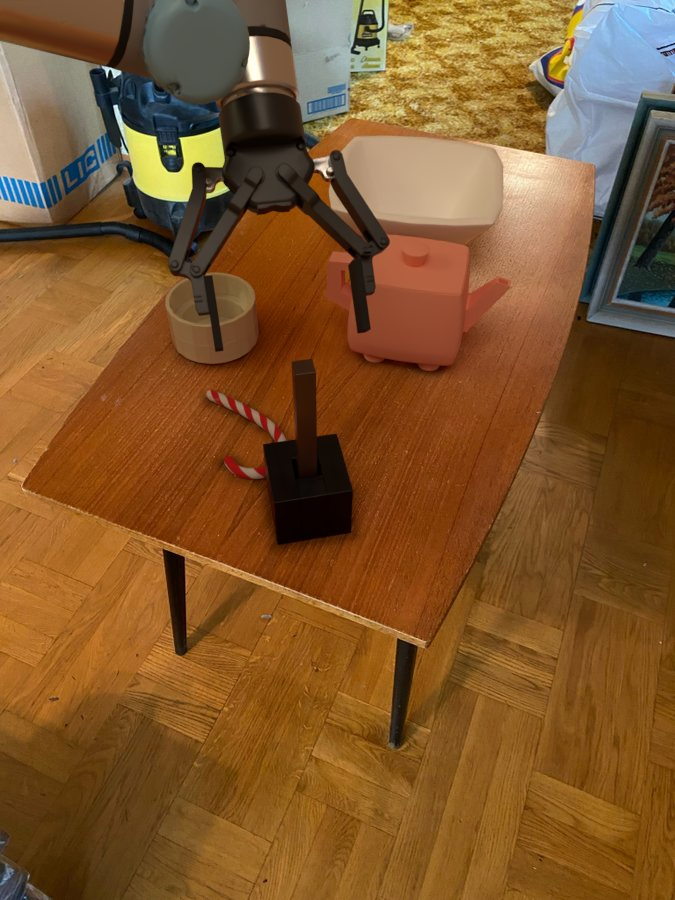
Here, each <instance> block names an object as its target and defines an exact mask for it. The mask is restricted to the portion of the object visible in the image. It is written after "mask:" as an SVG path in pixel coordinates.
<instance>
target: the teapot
mask: <svg viewBox="0 0 675 900" xmlns="http://www.w3.org/2000/svg"><path fill="white" fill-rule="evenodd" d="M386 235H387V236H388V238H389V240H390V244H389V246H388V247H387V248H386V249H385V250H384V251H383V252H382V253H380V254H377V255H375V256H374V257H373V259H372V263H373V271H374V278H375V285H376V288H375V292H374V293H373V294H372V295H368V296H366V298H367V305H368V312H369V320H370V327H371V329H370V330H369V331H367V332H365V333H357V326H356V319H355V311H354V304H353V297H352V290H351V284H350V283H348V282H346V272H349V268H348V265H349V264H350V263H351V261H352V260H353V259H354V258H353V257H352V256H351V255H350V254H349V253H348V252H347V251H334V250H333V251H332V253H331V255H330V257H329V259H328V266H327V277H326V290H325V298H326V299H328V300H329V301H331V302H332V303H334V304H336V305H338V306H340V307H341V308H343V309H345V310H346V311H348V318H347V343H348V346H349V349H350V350H351V351H353V352H356V353H358V354H362V355H363V357H364V359H365V360H366V361H368V362H370V363H381V362H383V361H384V360H385V359H386V360H391V361H397V362H404V363H411V364H412V363H413V364H417V365H418V367H419V368H420V369H421V370H423V371H426V372H428V371H429V372H433V371H436V370H438V369H439V368H440V366H452V365H453V364H454V362H455V360H456V358H457V356H458V353H459V351H460V346H461V343H462V338H463V335H464V333H467V332H469V330H470V329H471V328H472V327H473V326H474V325H475V324H476V323H477V322H478V321H479V320H480V319H481V318H482V317H483V316H484V315H485V314H486V313H487V312H488V311H489V310H490V309H491V308H492V307H493V306H494V305H495V304H496V303H498V301H499V300H500V299H501V298H502V297H503V296H504V295H505V294H506V293H507V292H509V290H510V289H511V283H512V280H511V279H508V278H505V277H503V276H498V275H496V276H495V278H493V279H491V280H490V281H487V283H485V284H483V285H481V286H480V287H478V288H477V289H475V290H473V291H472V292H469V289H470V274H471V273H470V270H471V267H470V266H471V265H470V264H471V260H470V259H471V258H470V256H471V255H470V247H469V246H467V245H466V244H465V245H461V244H456V243H451V242H445V241H439V240H432V239H425V238H418V237H409V236H399V235H389V234H386Z"/></svg>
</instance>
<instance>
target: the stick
mask: <svg viewBox="0 0 675 900" xmlns="http://www.w3.org/2000/svg"><path fill="white" fill-rule="evenodd" d="M291 379H292V381H291V382H292V398H293V399H292V401H293V403H292V404H293V421H294V422H293V423H294V440H295V446H296V467H297V479H299V478H306V477H312V476H317V436H318V426H317V425H318V422H317V421H318V417H317V415H318V414H317V410H318V409H317V371H316V367H315V364H314V360H313V358H306V359H305V358H304V359H299V360H292V361H291Z"/></svg>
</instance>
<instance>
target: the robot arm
mask: <svg viewBox="0 0 675 900" xmlns="http://www.w3.org/2000/svg"><path fill="white" fill-rule="evenodd" d="M0 42H1V43H7V44H10V45H15V46H19V47H22V48H27V49H32V50H36V51H40V52H43V53H48V54H51V55H56V56H60V57H65V58H69V59H73V60H76V61H80V62H84V63H88V64H92V65H98V66H101V67H104V68H105V67H106V68H110V69H113V70H116V71H119V72H124V73H127V74H131V75H135V76H139V77H143V78H148V79H151V80H152V81H153V83H154V84H155V85H156V86H157V87H158V88H159V89H161V90H162V91H164V92H166V93H167V94H169V95H171V96H173V97H174V98H175V99H177V100H178V101H181V102H183V103H185V104H191V105H198V106H199V105H207V104H213V103H214V102H215V103H216V107H217V108H218V109H219V110H220V111H219V113H218V117H217V118H218V123H219V130H220V138H221V144H222V151H223V158H224V161H223V165H222V166H220V167H219V166H205V164H204V163H202V162H201V161H196V162H194V163H193V164H192V165H191V187H192V188H191V191H190V194H189V197H188V200H187V203H186V206H185V209H184V213H183V215H182V219H181V222H180V224H179V228H178V231H177V234H176V237H175V239H174V243H173V245H172V249H171V251H170V255H169V258H168V261H167V266H168V267H167V268H168V270H169V272H170V274H171V275H172V276H173V277H180V278H184V279H186V278H187V279H189V280H190V281H191V283H192V289H193V295H194V302H195V308H196V311H197V313H198V315H199V316H202V315H210V320H211V327H212V333H213V340H214V346H215V352H218V351H223V343H222V336H221V330H220V323H219V316H218V310H217V303H216V297H215V290H214V283H213V277H212V275H210V276H205V275H206V273H208V271H209V270H210V269H211V267H212V265H213V264H214V262H215V261H216V259H217V258H218V256H219V254H220V252H221V251H222V250H223V248H224V246H225V244H226V243H227V241H228V240H229V238H230V237H231V236H232V233H233V232H234V230H235V229H236V227H237V226H238V224H240V222H241V220H242V219H243V218H244V216H245V215H246V213H247V211H249V212H251V213H252V214H253V213H254V214H256V216H261V215H262V216H263V215H266V214H270V213H272V212H274V213H275V212H277V213H290V212H291V210H293V209H295V208H296V207H297V208H298V209H299V211H301V213H303V214H304V215H305V216H308V217H309V218H310V219H311V220H313V221H314V222H315V223H316V224H317V225H318V226H319V227H320V228H321V229H322V230H323V231H324V232H325V233H326V234H328V236H329V237H331V239H333V240H334V241H335V242H336V243H337V244H338V245H339V246H340V247H341V248H342V249H343V250H344V251H345V252H347V253H349V254H350V255H351V256H352V257H353V258H354V259H353V260H352V261H351V263H350V264H349V265H348V268H349V271H348V274H349V284H350V285H351V290H352V297H353V304H354V311H355V319H356V326H357V333H365V332H367V331H369V330H370V329H371V327H370V320H369V312H368V305H367V298H366V296H368V295H372V294H373V293H374V292H375V288H376V285H375V278H374V271H373V263H372V259H373V257H374V256H375V255H377V254H380V253H382V252H383V251H384V250H385V249H386V248H387V247H388V246H389V244H390V240H389V238H388V236H387V235H386V233H385V231H384V230H383V228H382V227H381V225H380V224H379V222H378V221H377V219H376V217H375V216H374V214H373V213H372V211H371V210H370V208H369V207H368V205H367V204H366V202H365V200H364V199H363V197H362V196H361V194H360V193H359V191H358V190H357V188H356V187H355V185H354V183H353V182H352V180H351V179H350V177H349V176H348V174H347V171H346V167H345V163H344V159H343V155H342V153H341V151H340V150H338V149H334V150H332V151H331V152H330V154H329V155H326V156H322V157H317V158H313V157H311V155H310V154H309V151H308V149H307V148H308V147H307V142H306V135H305V129H304V122H303V113H302V107H301V104H300V102H298V100H299V97H300V92H299V86H298V79H297V73H296V66H295V65H296V64H295V59H294V58H295V57H294V52H293V46H292V37H291V29H290V22H289V16H288V7H287V0H0ZM314 174H318V175H320V176H321V179H322V180H323V181H324V182H325V183H330V184H331V186H332V188H333V190H334V192H335V193H336V195H337V197H338V198H339V200H340V201H341V203H342V204H343V206H344V207H345V209H346V210H347V212H348V213H349V215H350V217H351V218H352V220H353V221H354V223H355V224H356V226H357V227H358V229H359V230H360V232H361V233H362V235H363V236H364V238H365V240H366V241H367V243H366V242H365V241H364V240H363V239H362V238H361V237H360V236H359V235H358V234H357V233H356V232H355V231H354V230H353V229H352V228H351V227H350V226H349V225H348V224H346V223H345V222H344V221H343V220H342V219H341V218H340V217H339V216H338V215H337V214H336V213H335V212H334V211H333V210H332V209H331V206H329V205H328V204H327V203H326V202H324V201H323V200H322V198H321V196H320V195H319V193H317V191H315V190H314V188H313V187H311V185H309V184H310V182H311V180H312V178H313V176H314ZM219 183H223V185H224V186H225V187H226V188H227V189H228V190H229V192H230V193H232V194H233V196H232V198H231V200H230V201H229V203H228V204H227V207H226V209H225V211H224V212H223V213H222V215H221V217H220V218H219V220H218V222H217V223H216V224H215V226H214V228H213V230H212V231H211V232H210V234H209V236H208V237H207V239H206V240H205V242H204V244H203V245H202V247H201V249H200V250H199V251H198V253H197V255H196V257H194V259H193V261H191V262H190V261H188V258H189V255H190V252H191V249H192V246H193V243H194V240H195V238H196V237H195V236H196V234H197V231H198V228H199V225H200V222H201V218H202V215H203V212H204V209H205V206H206V203H207V197H208V195H207V194H212V193H214V192H215V190H216V187H217V185H218V184H219Z"/></svg>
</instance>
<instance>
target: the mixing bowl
mask: <svg viewBox="0 0 675 900" xmlns="http://www.w3.org/2000/svg"><path fill="white" fill-rule="evenodd" d="M210 275H212V277H213V283H214V290H215V297H216V303H217V310H218V316H219V323H220V330H221V336H222V343H223V351H218V352H215V346H214V340H213V333H212V327H211V320H210V315H202V316H199V315H198V313H197V311H196V308H195V302H194V295H193V289H192V283H191V281H190V280H189V279H187V278H184V279H182V280H180V281H178V282H177V283H176V284H174V286H172V287H171V288H170V289H169V291H168V292H167V295H166V296H165V301H164V302H165V310H166V316H167V321H168V325H169V331H170V336H171V339H172V344H173V346H174V348H175V350H176V351H177V353H178V354H180V355H181V356H182V357H184V358H185V359H186V360H190V361H192V362H196V363H199V364H208V365H216V364H225V363H228V362H232V361H234V360H237V359H240V358H241V357H243V356H245V355H246V354H248V353H249V352H250V351H251V350H252V349H253V348H254V347H255V346H256V345H257V342H258V339H259V336H260V332H259V321H258V320H259V319H258V310H257V299H256V292H255V289H254V288H253V287H252V285H251V283H250V282H249V281H246V280H245V279H244V278H242V277H240V276H237V275H233V274H231V273H226V272H216V271H215V272H207V273H206V275H205V276H210Z"/></svg>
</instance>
